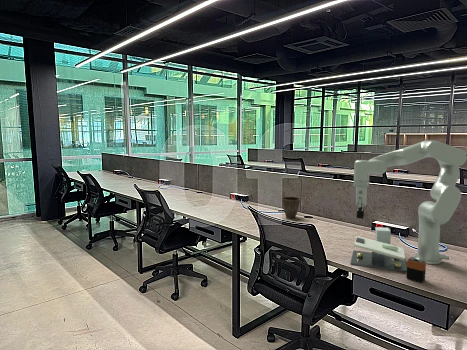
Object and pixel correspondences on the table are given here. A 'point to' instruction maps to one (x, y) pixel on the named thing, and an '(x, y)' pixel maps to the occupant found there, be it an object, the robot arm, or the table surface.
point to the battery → (416, 269)
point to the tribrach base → (378, 261)
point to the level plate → (379, 247)
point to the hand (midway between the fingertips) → (360, 216)
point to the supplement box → (382, 235)
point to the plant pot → (290, 206)
